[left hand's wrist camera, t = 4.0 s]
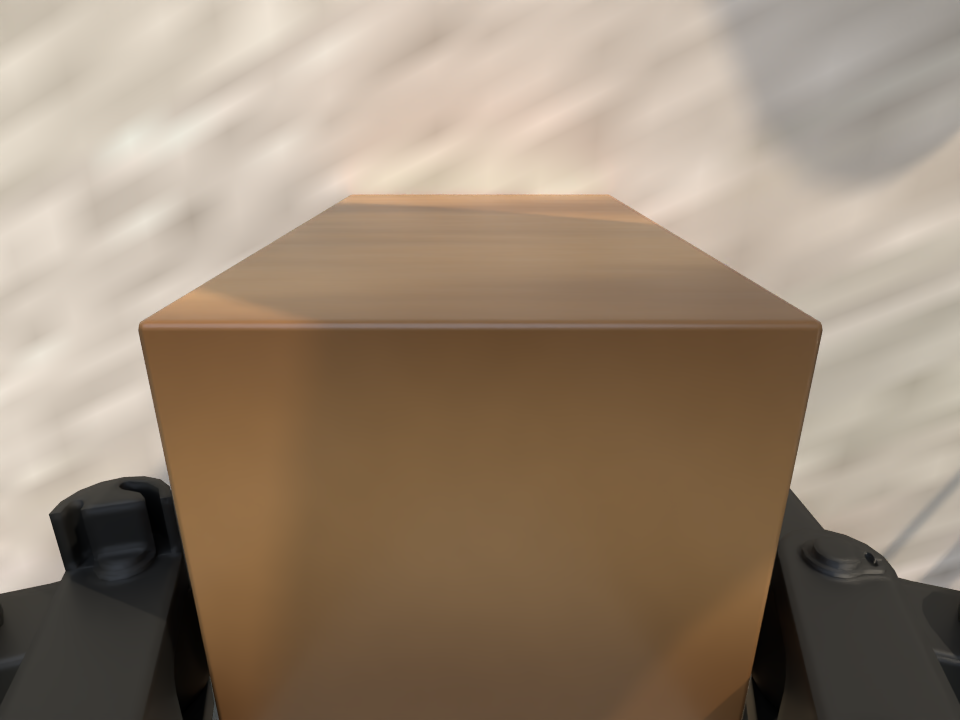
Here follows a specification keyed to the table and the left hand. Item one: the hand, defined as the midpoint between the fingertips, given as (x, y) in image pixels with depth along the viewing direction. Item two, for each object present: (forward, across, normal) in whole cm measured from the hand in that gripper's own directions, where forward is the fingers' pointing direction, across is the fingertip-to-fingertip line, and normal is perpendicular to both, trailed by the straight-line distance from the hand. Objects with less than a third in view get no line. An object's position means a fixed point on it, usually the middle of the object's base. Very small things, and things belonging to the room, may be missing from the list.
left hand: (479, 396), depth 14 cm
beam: (+1, 0, -36) cm, 36 cm away
